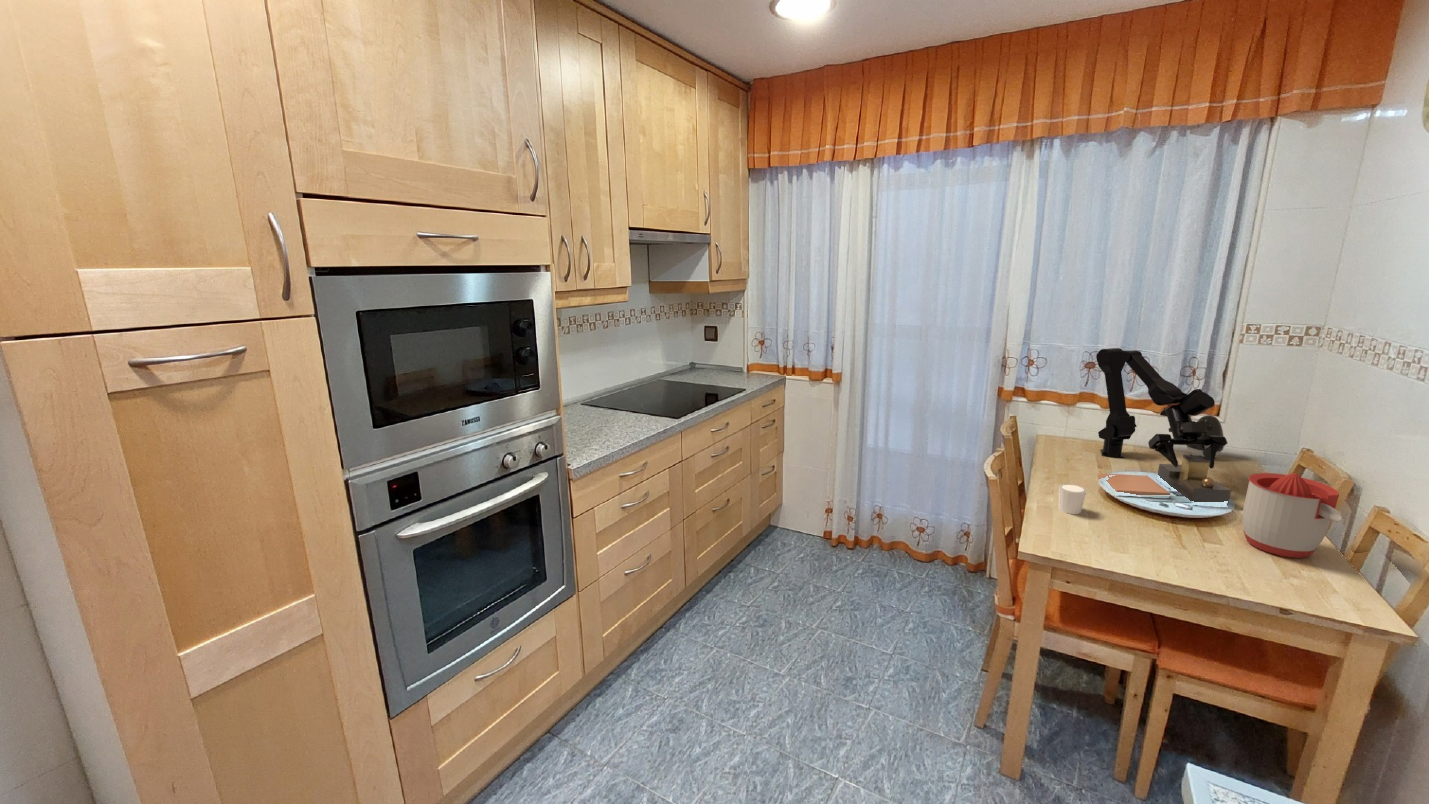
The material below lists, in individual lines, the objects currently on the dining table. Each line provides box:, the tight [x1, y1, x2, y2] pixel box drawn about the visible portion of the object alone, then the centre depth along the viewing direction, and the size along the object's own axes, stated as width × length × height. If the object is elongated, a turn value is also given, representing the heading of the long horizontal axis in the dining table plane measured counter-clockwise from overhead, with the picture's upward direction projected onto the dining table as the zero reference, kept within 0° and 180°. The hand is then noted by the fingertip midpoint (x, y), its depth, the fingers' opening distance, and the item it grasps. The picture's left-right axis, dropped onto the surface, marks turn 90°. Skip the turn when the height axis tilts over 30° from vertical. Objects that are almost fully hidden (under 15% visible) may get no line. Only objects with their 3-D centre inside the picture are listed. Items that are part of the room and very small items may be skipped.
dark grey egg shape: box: [1186, 415, 1225, 458], centre depth 201 cm, size 10×10×15 cm
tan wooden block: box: [1179, 454, 1210, 481], centre depth 172 cm, size 4×5×8 cm
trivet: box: [1097, 472, 1171, 495], centre depth 178 cm, size 14×14×2 cm
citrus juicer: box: [1241, 472, 1343, 559], centre depth 139 cm, size 16×17×20 cm
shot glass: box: [1058, 483, 1087, 515], centre depth 165 cm, size 7×7×7 cm
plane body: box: [1157, 463, 1232, 503], centre depth 173 cm, size 20×9×8 cm, turn 166°
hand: (1194, 467), depth 172 cm, fingers open, 9 cm apart
